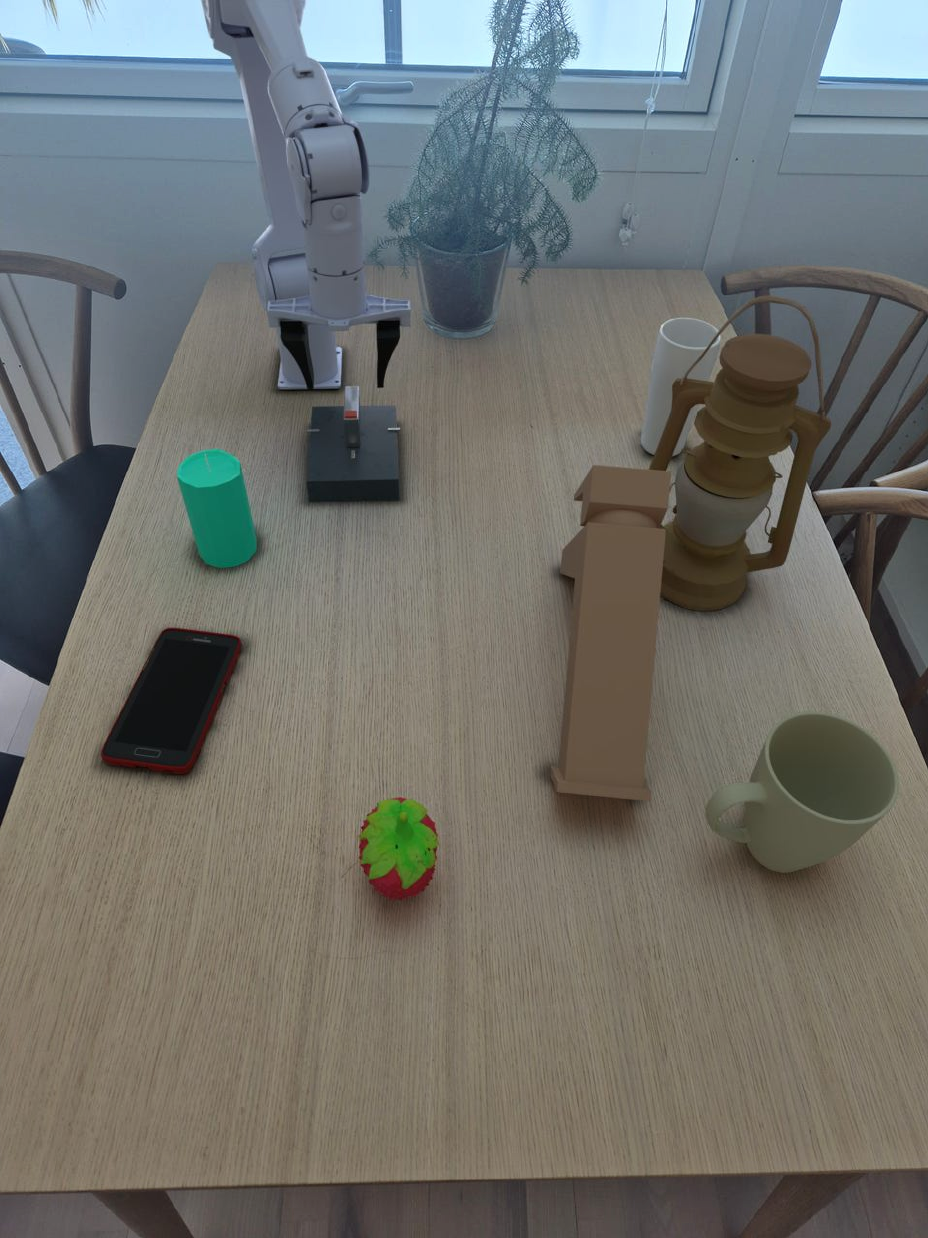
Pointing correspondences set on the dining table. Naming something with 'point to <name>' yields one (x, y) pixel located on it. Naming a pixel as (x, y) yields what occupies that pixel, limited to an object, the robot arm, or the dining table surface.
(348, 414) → the tap handle
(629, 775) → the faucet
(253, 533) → the candle
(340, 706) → the dining table surface
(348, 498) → the plate
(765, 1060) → the dining table surface
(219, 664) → the cell phone
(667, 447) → the lantern
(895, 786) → the mug
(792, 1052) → the dining table surface
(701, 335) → the white cup
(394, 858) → the strawberry
